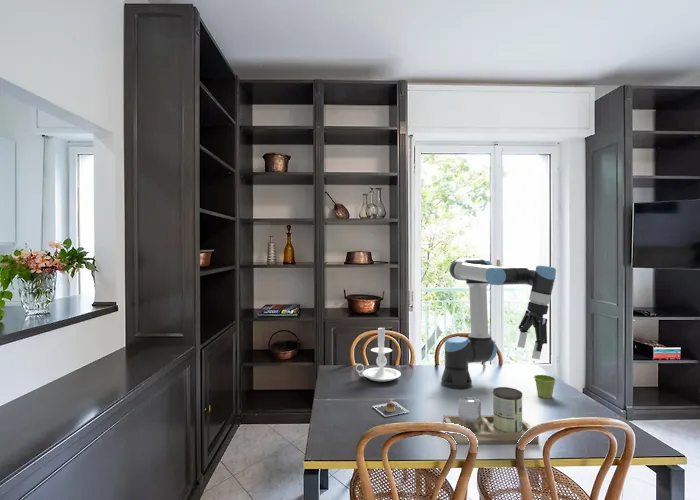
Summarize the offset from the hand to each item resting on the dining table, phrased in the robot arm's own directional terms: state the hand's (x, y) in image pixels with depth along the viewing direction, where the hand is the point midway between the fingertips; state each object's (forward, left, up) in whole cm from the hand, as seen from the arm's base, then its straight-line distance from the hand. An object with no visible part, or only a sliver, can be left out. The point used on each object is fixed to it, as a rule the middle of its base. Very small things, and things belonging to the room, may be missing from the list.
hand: (527, 352), depth 161 cm
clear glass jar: (+15, -29, -25) cm, 41 cm away
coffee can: (+15, -15, -25) cm, 32 cm away
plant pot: (-22, +18, -27) cm, 39 cm away
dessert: (-7, -56, -27) cm, 63 cm away
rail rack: (+15, -22, -26) cm, 37 cm away
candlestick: (-47, -59, -27) cm, 80 cm away
